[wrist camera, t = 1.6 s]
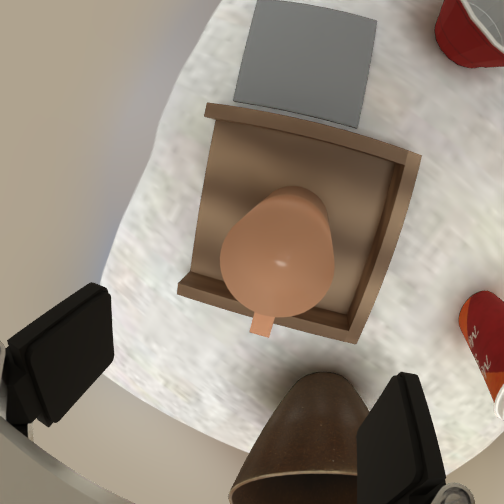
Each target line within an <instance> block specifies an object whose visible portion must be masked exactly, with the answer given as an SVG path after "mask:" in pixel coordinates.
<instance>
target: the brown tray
mask: <svg viewBox="0 0 504 504" xmlns="http://www.w3.org/2000/svg"><path fill="white" fill-rule="evenodd" d="M204 117H207V118H211V119H215V120H216V121H215V126H214V131H213V136H212V141H211V146H210V151H209V157H208V162H207V168H206V173H205V179H204V184H203V190H202V196H201V202H200V208H199V214H198V221H197V227H196V234H195V241H194V247H193V254H192V262H191V269H190V272H189V273H188V274H187V275H186V276H185V277H184V278H183V279H182V280H181V281H180V282H179V283H178V288H177V294H178V295H181V296H184V297H187V298H190V299H193V300H196V301H200V302H203V303H206V304H209V305H212V306H216V307H219V308H222V309H225V310H229V311H232V312H235V313H239V314H242V315H246V316H249V317H253V316H254V311H252V310H250V309H248V308H247V307H245V306H244V305H242V304H241V303H240V302H239V301H238V300H237V299H236V298H235V297H234V296H233V295H232V294H231V292H230V291H229V289H228V288H227V286H226V284H225V282H224V280H223V277H222V273H221V268H220V253H221V248H222V244H223V242H224V240H225V237H226V236H227V234H228V232H229V231H230V230H231V228H232V227H233V226H234V225H235V224H236V223H237V222H238V221H239V220H241V219H242V218H243V217H244V216H245V215H246V214H247V213H248V212H250V211H251V210H252V209H253V208H254V207H255V206H256V205H258V204H259V203H260V202H261V201H262V200H263V199H264V198H266V197H267V196H268V195H269V194H270V193H272V192H273V191H275V190H277V189H279V188H282V187H286V186H298V187H303V188H306V189H308V190H310V191H312V192H313V193H315V194H316V195H317V196H318V197H319V198H320V199H321V200H322V202H323V203H324V205H325V207H326V209H327V212H328V217H329V224H330V231H331V238H332V246H333V254H334V266H335V268H334V276H333V280H332V283H331V285H330V288H329V290H328V291H327V293H326V295H325V296H324V297H323V298H322V300H321V301H320V302H319V303H317V304H316V305H315V306H314V307H312V308H311V309H309V310H307V311H306V312H304V313H301V314H298V315H295V316H290V317H275V319H274V322H273V323H274V324H277V325H281V326H285V327H288V328H292V329H296V330H300V331H304V332H307V333H311V334H315V335H319V336H323V337H327V338H331V339H335V340H340V341H344V342H348V343H352V344H357V341H358V339H359V337H360V335H361V333H362V331H363V328H364V326H365V324H366V321H367V319H368V317H369V315H370V312H371V310H372V307H373V305H374V303H375V300H376V298H377V295H378V293H379V290H380V288H381V285H382V283H383V280H384V277H385V275H386V272H387V269H388V267H389V264H390V261H391V258H392V256H393V253H394V250H395V247H396V244H397V241H398V238H399V235H400V232H401V229H402V226H403V223H404V220H405V216H406V213H407V210H408V206H409V203H410V199H411V196H412V192H413V189H414V185H415V181H416V177H417V174H418V170H419V166H420V162H421V157H422V156H421V155H419V154H416V153H413V152H411V151H408V150H405V149H402V148H400V147H397V146H394V145H391V144H388V143H385V142H382V141H379V140H376V139H373V138H369V137H366V136H363V135H359V134H356V133H353V132H349V131H346V130H342V129H338V128H335V127H331V126H327V125H323V124H319V123H315V122H311V121H307V120H303V119H298V118H294V117H289V116H285V115H280V114H275V113H270V112H264V111H259V110H253V109H248V108H242V107H235V106H229V105H222V104H214V103H207V105H206V109H205V114H204Z"/></svg>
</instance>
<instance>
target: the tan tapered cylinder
mask: <svg viewBox="0 0 504 504" xmlns="http://www.w3.org/2000/svg"><path fill="white" fill-rule="evenodd" d="M220 268H221V273H222V277H223V280H224V282H225V284H226V286H227V288H228V289H229V291H230V292H231V294H232V295H233V296H234V297H235V298H236V299H237V300H238V301H239V302H240V303H241V304H242V305H244V306H245V307H247V308H248V309H250V310H252V311H254V316H253V320H252V324H251V328H250V332H251V333H254V334H258V335H261V336H265V337H268V338H269V336H270V332H271V329H272V325H273V322H274V319H275V317H290V316H295V315H298V314H301V313H304V312H306V311H307V310H309V309H311V308H312V307H314V306H315V305H316V304H317V303H319V302H320V301H321V300H322V298H323V297H324V296H325V295H326V293H327V291H328V290H329V288H330V285H331V283H332V280H333V276H334V268H335V266H334V254H333V246H332V238H331V231H330V224H329V217H328V212H327V209H326V207H325V205H324V203H323V202H322V200H321V199H320V198H319V197H318V196H317V195H316V194H315V193H313V192H312V191H310V190H308V189H306V188H303V187H298V186H286V187H282V188H279V189H277V190H275V191H273V192H272V193H270V194H269V195H268V196H267V197H266V198H264V199H263V200H262V201H261V202H260V203H259V204H258V205H256V206H255V207H254V208H253V209H252V210H251V211H250V212H248V213H247V214H246V215H245V216H244V217H243V218H242V219H241V220H239V221H238V222H237V223H236V224H235V225H234V226H233V227H232V228H231V230H230V231H229V232H228V234H227V236H226V237H225V240H224V242H223V244H222V248H221V253H220Z"/></svg>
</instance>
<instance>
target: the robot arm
mask: <svg viewBox="0 0 504 504" xmlns="http://www.w3.org/2000/svg"><path fill="white" fill-rule="evenodd" d="M7 341H8V345H9V346H8V347H7V348H5V346H4V344H3V343H2V342H1V341H0V504H135V503H133V502H131V501H129V500H127V499H125V498H122V497H120V496H118V495H116V494H114V493H112V492H111V491H109V490H107V489H105V488H103V487H101V486H99V485H98V484H96V483H94V482H92V481H90V480H89V479H87V478H85V477H84V476H82V475H80V474H79V473H77V472H75V471H74V470H72V469H71V468H69V467H67V466H66V465H65V464H63V463H62V462H60V461H58V460H57V459H56V458H54V457H53V456H51V455H50V454H48V453H47V452H46V451H44V450H43V449H42V448H40V447H39V446H37V445H36V444H35V443H34V442H33V421H34V420H35V419H36V418H37V419H38V420H39V421H40V422H42V423H43V424H44V425H46V426H47V427H50V426H51V424H52V423H53V422H54V423H57V422H58V421H60V420H61V418H62V417H63V416H64V415H65V414H66V413H67V412H68V411H69V409H70V408H71V407H72V406H73V405H74V404H75V403H76V402H77V400H78V399H79V398H80V397H81V396H82V395H83V394H84V393H85V392H86V390H87V389H88V388H89V387H90V386H91V385H92V384H93V383H94V382H95V380H96V379H97V378H98V377H99V376H100V375H101V374H102V373H103V372H104V371H105V369H106V368H107V367H108V366H109V365H110V364H111V363H112V361H113V358H114V345H113V331H112V311H111V295H110V294H109V293H108V290H107V288H105V287H103V286H100V285H98V284H95V283H92V282H91V283H89V284H87V285H86V286H84V287H83V288H81V289H80V290H78V291H77V292H75V293H74V294H72V295H71V296H69V297H68V298H66V299H65V300H64V301H62V302H60V303H59V304H57V305H56V306H55V307H53V308H52V309H50V310H49V311H47V312H46V313H45V314H43V315H42V316H40V317H39V318H38V319H36V320H35V321H33V322H32V323H30V324H29V325H28V326H26V327H25V328H24V329H22V330H21V331H19V332H18V333H17V334H15V335H14V336H13V337H11V338H10V339H9V340H7ZM356 444H357V504H475V500H474V497H473V494H472V493H471V491H470V490H469V489H468V488H467V487H466V486H464V485H462V484H460V483H449V484H447V485H446V483H445V479H446V475H445V470H444V466H443V461H442V457H441V453H440V449H439V445H438V441H437V437H436V433H435V430H434V426H433V422H432V419H431V415H430V412H429V409H428V405H427V402H426V399H425V396H424V392H423V389H422V386H421V383H420V380H419V377H418V375H416V374H411V373H405V372H400V373H399V374H398V375H397V376H393V377H392V378H391V379H390V381H389V383H388V384H387V386H386V388H385V389H384V391H383V393H382V394H381V396H380V397H379V399H378V400H377V402H376V403H375V405H374V406H373V408H372V410H371V411H370V412H369V414H368V415H367V417H366V418H365V420H364V421H363V423H362V424H361V426H360V427H359V429H358V431H357V435H356Z"/></svg>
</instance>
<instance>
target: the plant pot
mask: <svg viewBox="0 0 504 504" xmlns="http://www.w3.org/2000/svg"><path fill="white" fill-rule="evenodd" d="M368 414H369V410H368V409H367V407H366V405H365V404H364V402H363V401H362V399H361V398H360V396H359V395H358V393H357V392H356V390H355V389H354V388H353V386H352V385H351V384H350V383H349V382H348V381H347V380H346V379H345V378H344V377H342V376H340V375H338V374H334V373H329V372H319V373H313V374H309V375H307V376H305V377H303V378H301V379H300V380H299V381H298V382H297V383H296V384H295V385H294V386H293V387H292V389H291V390H290V391H289V392H288V394H287V395H286V396H285V398H284V399H283V400H282V402H281V403H280V404H279V406H278V407H277V409H276V410H275V412H274V413H273V414H272V416H271V418H270V419H269V421H268V422H267V424H266V425H265V427H264V429H263V430H262V432H261V434H260V435H259V437H258V439H257V440H256V442H255V444H254V446H253V447H252V449H251V451H250V453H249V455H248V457H247V458H246V460H245V462H244V464H243V466H242V468H241V470H240V472H239V474H238V476H237V478H236V480H235V482H234V484H233V486H232V488H231V490H230V492H229V495H228V499H229V502H230V504H357V444H356V435H357V431H358V429H359V427H360V426H361V424H362V423H363V421H364V420H365V418H366V417H367V415H368Z"/></svg>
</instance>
